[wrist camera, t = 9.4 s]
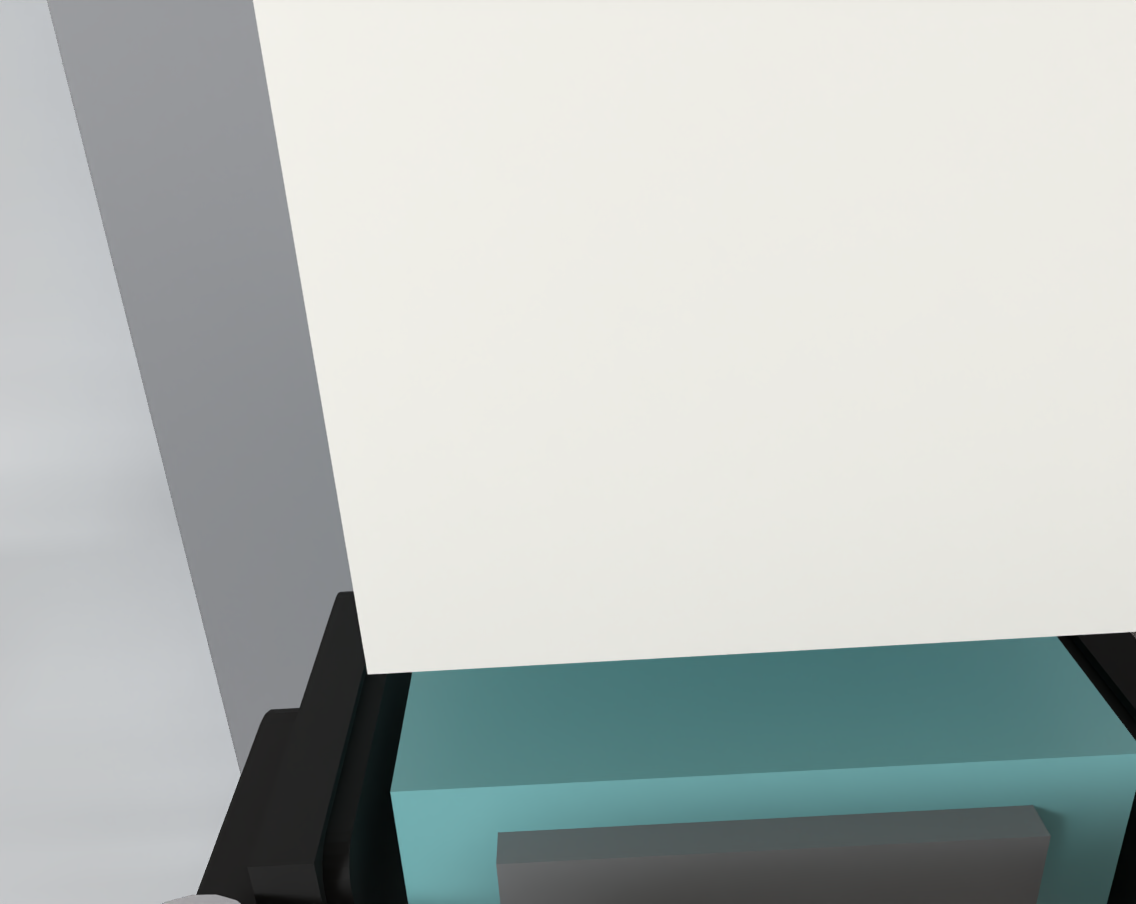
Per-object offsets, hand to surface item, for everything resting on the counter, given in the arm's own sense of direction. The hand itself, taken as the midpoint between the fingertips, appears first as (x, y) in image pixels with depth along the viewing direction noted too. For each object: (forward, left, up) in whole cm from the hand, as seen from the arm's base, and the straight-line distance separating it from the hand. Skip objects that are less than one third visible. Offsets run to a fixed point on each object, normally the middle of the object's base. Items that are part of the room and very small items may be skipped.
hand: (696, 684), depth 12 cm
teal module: (0, 0, -3) cm, 3 cm away
